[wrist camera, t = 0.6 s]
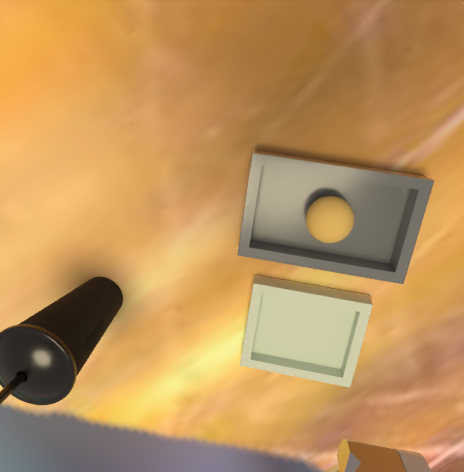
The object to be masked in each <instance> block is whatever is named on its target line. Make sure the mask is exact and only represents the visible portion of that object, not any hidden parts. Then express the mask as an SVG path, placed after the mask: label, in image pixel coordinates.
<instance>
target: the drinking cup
mask: <svg viewBox="0 0 464 472" xmlns="http://www.w3.org/2000/svg"><path fill="white" fill-rule="evenodd" d="M122 302H123V296H122V293H121V290H120V288H119V287H118V286H117V285H116V284H115V283H114V282H113V281H111V280H110V279H107V278H103V277H96V278H93V279H91V280H89V281H87V282H86V283H84V284H83V285H81V286H79V287H78V288H76V289H75V290H73V291H71V292H70V293H68V294H66V295H65V296H63V297H62V298H60V299H58V300H57V301H55V302H54V303H52V304H50V305H49V306H47V307H46V308H44V309H42V310H41V311H39V312H38V313H36V314H34V315H33V316H31V317H30V318H28V319H26V320H25V321H23V322H22V323H20V324H18V325H14V326H11V327H8V328H6V329H5V330H3V331H2V332H0V385H1V386H2V387H3V389H2V390H1V391H0V404H1V403H2V402H3V401H4V400H5V399H6V398H7V397H8V396H9V395H10V394H11V395H12V396H14V397H16V398H17V399H19V400H22V401H24V402H27V403H30V404H35V405H49V404H53V403H56V402H58V401H60V400H62V399H63V398H65V397H66V396H67V395H68V394H69V392H70V391H71V390H72V388H73V386H74V384H75V381H76V376H77V375H78V373H79V372H80V370H81V369H82V367H83V365H84V364H85V362H86V361H87V359H88V358H89V356H90V355H91V353H92V351H93V350H94V348H95V347H96V345H97V344H98V342H99V340H100V339H101V337H102V336H103V334H104V333H105V331H106V329H107V328H108V326H109V325H110V323H111V322H112V320H113V318H114V317H115V315H116V314H117V312H118V311H119V309H120V307H121V305H122Z"/></svg>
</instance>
